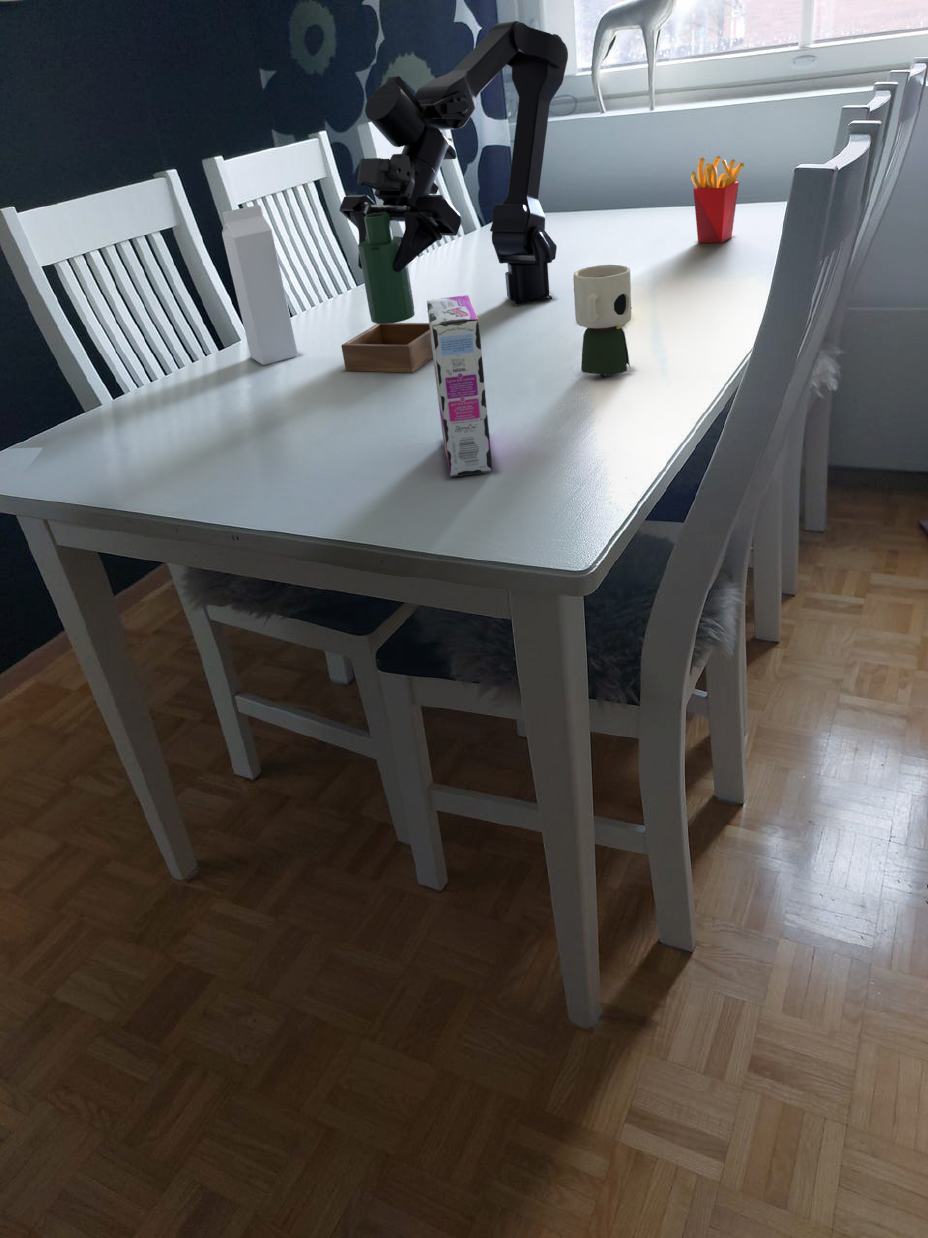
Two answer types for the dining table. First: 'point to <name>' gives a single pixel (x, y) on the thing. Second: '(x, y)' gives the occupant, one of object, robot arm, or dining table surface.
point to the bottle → (384, 273)
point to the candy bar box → (460, 384)
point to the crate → (389, 348)
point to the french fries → (715, 200)
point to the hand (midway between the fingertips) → (378, 269)
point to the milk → (258, 285)
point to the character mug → (603, 317)
